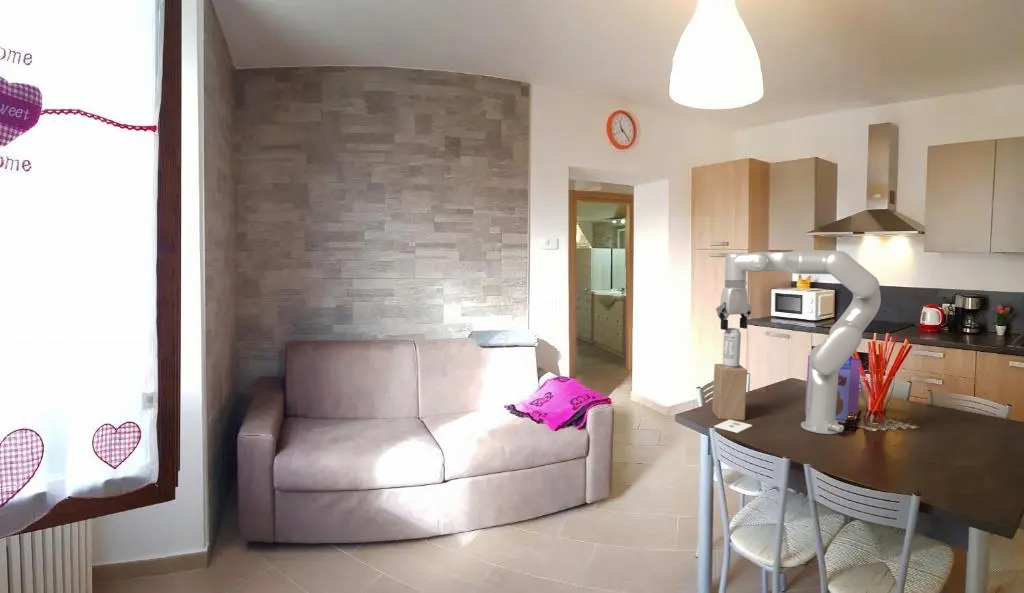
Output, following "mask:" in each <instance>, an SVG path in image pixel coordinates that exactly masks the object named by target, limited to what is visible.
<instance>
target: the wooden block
mask: <svg viewBox="0 0 1024 593" xmlns="http://www.w3.org/2000/svg"><path fill="white" fill-rule="evenodd" d="M713 368H714V370H713V386H712V410H711V412H712V413H713V414H714V416H715V417H716V418H717V419H718V420H725V421H727V420H729V419H730V420H734V421H745V419H746V403H747V400H746V399H747V383H748V382H747V381H748V369H747V368H745V367H744V366H742V365H741V364H739V366H738V368H727V367H724V365H723V363H715V364H714V366H713Z"/></svg>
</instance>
